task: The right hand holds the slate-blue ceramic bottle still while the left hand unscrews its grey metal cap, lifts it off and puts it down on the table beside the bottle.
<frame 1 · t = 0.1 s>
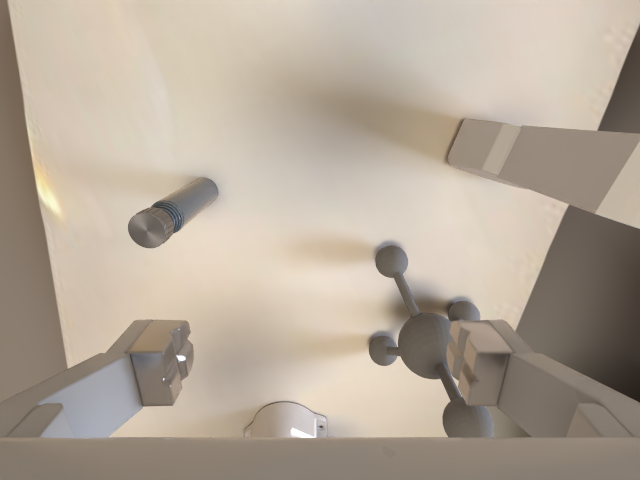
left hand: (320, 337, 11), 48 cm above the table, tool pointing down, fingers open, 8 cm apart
cap: (148, 230, 39), point 20 cm above the table, screwed on, not yet turned
electronic device: (486, 152, 55), on the table
bottle: (205, 190, 58), on the table
molecular model: (402, 309, 66), on the table
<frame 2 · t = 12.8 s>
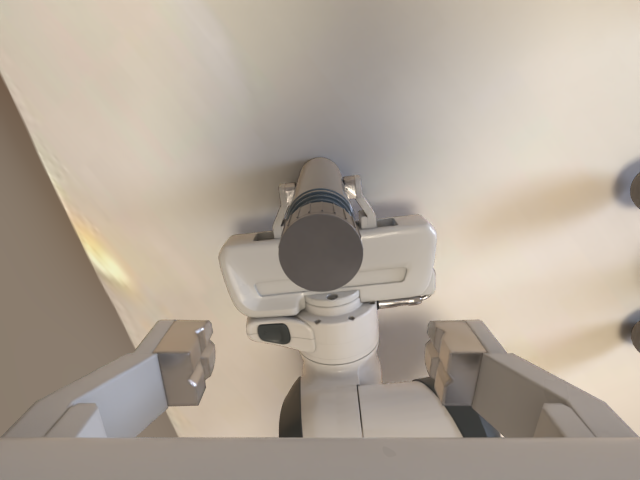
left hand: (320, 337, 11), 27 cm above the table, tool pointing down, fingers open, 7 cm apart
right hand: (318, 180, 30), fingers closed on bottle, 4 cm apart
cap: (320, 252, 17), point 20 cm above the table, screwed on, not yet turned
bottle: (320, 178, 36), on the table, touching right hand
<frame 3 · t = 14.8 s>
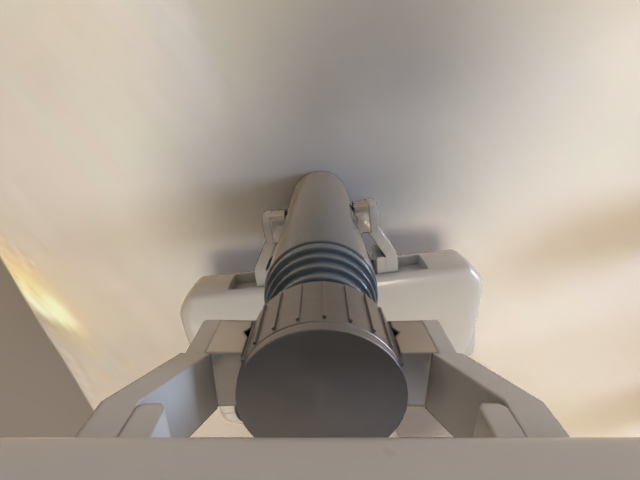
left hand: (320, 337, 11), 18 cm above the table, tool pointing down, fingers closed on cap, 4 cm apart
cap: (321, 392, 9), point 20 cm above the table, screwed on, not yet turned, touching left hand
bottle: (320, 198, 28), on the table, touching right hand
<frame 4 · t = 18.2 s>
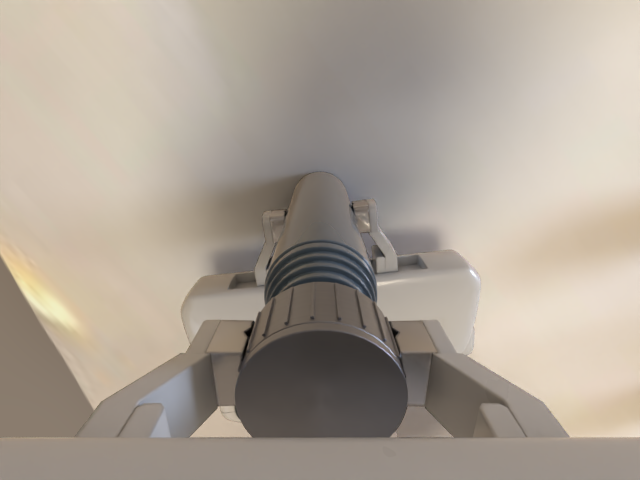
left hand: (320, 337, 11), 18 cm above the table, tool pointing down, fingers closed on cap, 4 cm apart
right hand: (317, 206, 22), fingers closed on bottle, 4 cm apart
cap: (321, 393, 9), point 20 cm above the table, turned 93° so far, risen 0.1 cm, still on its thread, touching left hand
bottle: (320, 198, 28), on the table, touching right hand
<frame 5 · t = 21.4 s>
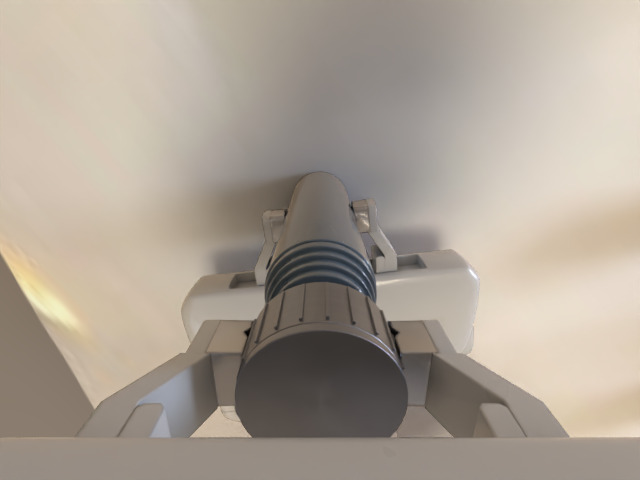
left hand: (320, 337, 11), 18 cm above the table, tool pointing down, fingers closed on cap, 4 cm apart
cap: (321, 393, 9), point 21 cm above the table, turned 186° so far, risen 0.2 cm, still on its thread, touching left hand
bottle: (319, 198, 28), on the table, touching right hand
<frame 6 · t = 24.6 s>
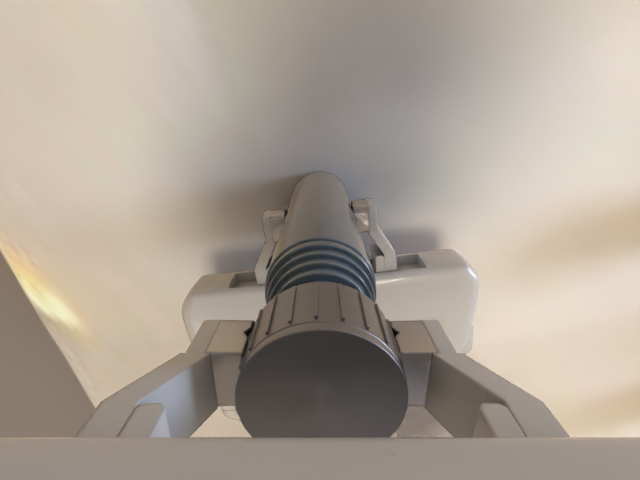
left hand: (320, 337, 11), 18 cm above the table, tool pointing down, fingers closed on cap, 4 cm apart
right hand: (317, 206, 22), fingers closed on bottle, 4 cm apart
cap: (321, 393, 9), point 21 cm above the table, turned 279° so far, risen 0.3 cm, still on its thread, touching left hand
bottle: (319, 198, 28), on the table, touching right hand
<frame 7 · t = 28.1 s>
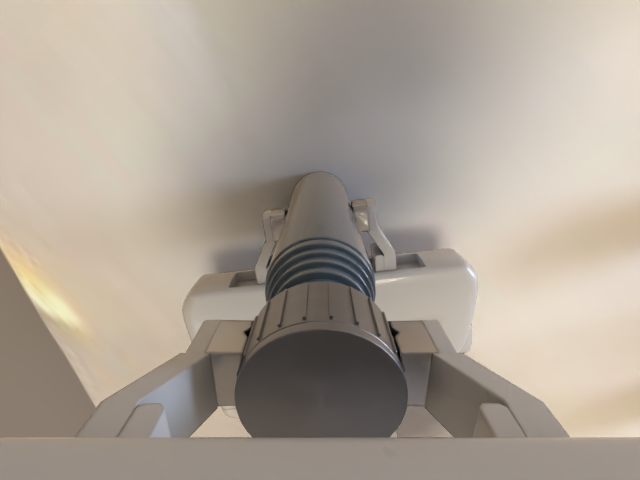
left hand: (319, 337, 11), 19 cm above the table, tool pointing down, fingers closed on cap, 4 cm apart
right hand: (317, 206, 22), fingers closed on bottle, 4 cm apart
cap: (321, 392, 9), point 21 cm above the table, turned 372° so far, risen 0.4 cm, still on its thread, touching left hand
bottle: (319, 198, 28), on the table, touching right hand
when the left hand's fingers open (2 cm above the table, at t = 38.7 s): cap drops 2 cm, point 2 cm above the table.
when the right hand's fingers open (6 cm above the table, at t = 39.9 s): bottle stays where it is, on the table.
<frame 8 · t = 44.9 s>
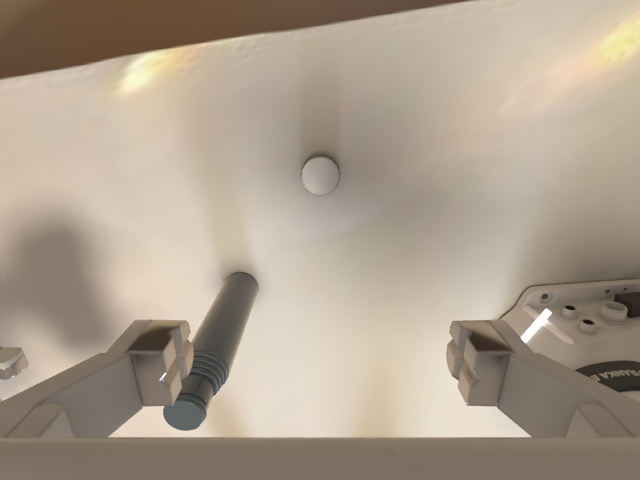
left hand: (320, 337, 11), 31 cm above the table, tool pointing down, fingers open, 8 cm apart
cap: (320, 176, 38), point 2 cm above the table, off its thread
bottle: (241, 287, 45), on the table
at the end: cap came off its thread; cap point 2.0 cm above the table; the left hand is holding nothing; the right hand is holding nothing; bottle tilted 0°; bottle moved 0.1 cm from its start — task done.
